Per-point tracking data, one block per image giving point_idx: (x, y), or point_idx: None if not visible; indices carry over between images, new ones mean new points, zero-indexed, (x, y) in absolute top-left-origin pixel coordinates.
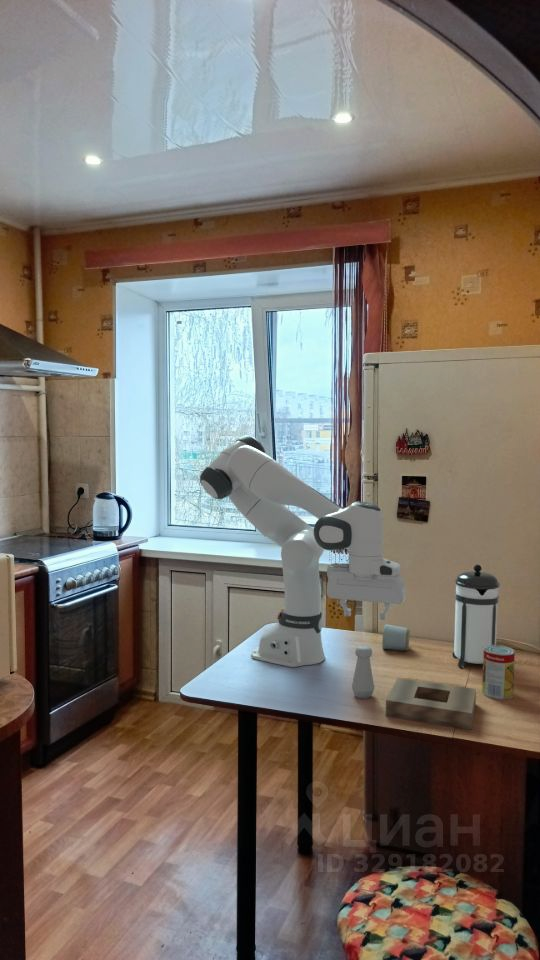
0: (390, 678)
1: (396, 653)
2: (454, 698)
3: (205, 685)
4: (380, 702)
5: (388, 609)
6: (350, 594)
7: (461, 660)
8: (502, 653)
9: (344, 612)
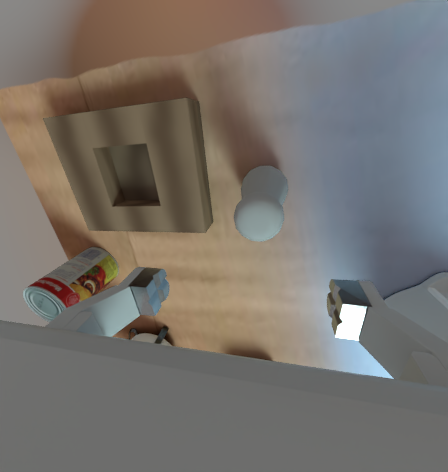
0: (238, 273)
1: (254, 356)
2: (93, 175)
3: None
4: (226, 166)
5: (83, 301)
6: (398, 458)
7: (161, 335)
8: (34, 293)
9: (375, 292)
